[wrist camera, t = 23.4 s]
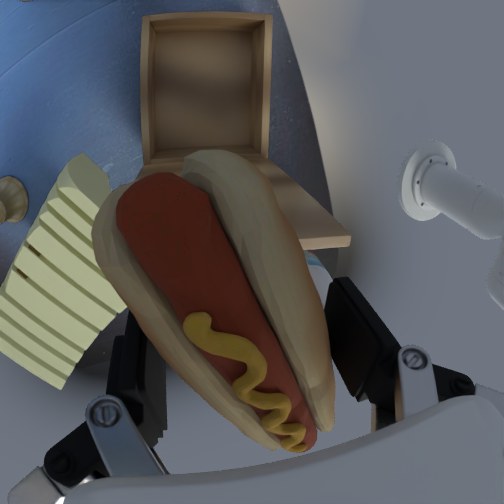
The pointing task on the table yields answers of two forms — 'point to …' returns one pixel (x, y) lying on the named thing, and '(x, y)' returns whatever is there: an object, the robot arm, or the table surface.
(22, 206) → the hand bell
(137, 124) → the table surface
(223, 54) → the box
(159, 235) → the food
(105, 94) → the table surface
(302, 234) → the lid
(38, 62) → the table surface
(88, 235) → the slatted curved stool
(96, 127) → the table surface
